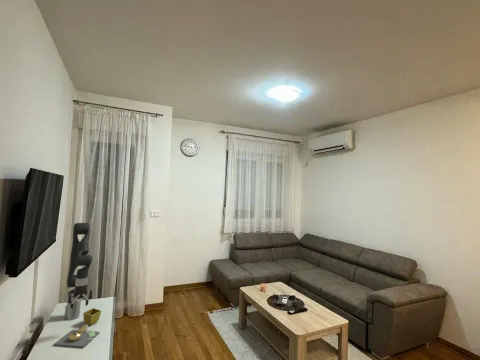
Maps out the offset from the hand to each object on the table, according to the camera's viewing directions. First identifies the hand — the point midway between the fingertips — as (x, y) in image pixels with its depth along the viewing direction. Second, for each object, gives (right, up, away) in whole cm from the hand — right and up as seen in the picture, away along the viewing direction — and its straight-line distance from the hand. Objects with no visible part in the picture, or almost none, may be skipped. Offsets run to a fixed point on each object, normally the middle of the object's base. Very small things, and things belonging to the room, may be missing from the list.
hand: (79, 307), depth 172 cm
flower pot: (+1, -20, +13) cm, 24 cm away
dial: (+3, -17, -5) cm, 18 cm away
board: (+4, -19, -6) cm, 20 cm away
